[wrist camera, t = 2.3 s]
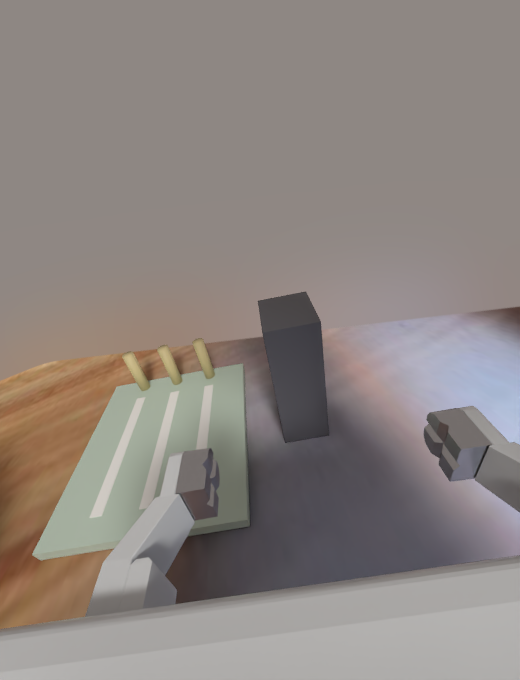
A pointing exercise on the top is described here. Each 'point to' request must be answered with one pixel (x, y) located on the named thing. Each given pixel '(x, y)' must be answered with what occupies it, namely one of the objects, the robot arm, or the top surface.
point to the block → (296, 364)
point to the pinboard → (154, 455)
